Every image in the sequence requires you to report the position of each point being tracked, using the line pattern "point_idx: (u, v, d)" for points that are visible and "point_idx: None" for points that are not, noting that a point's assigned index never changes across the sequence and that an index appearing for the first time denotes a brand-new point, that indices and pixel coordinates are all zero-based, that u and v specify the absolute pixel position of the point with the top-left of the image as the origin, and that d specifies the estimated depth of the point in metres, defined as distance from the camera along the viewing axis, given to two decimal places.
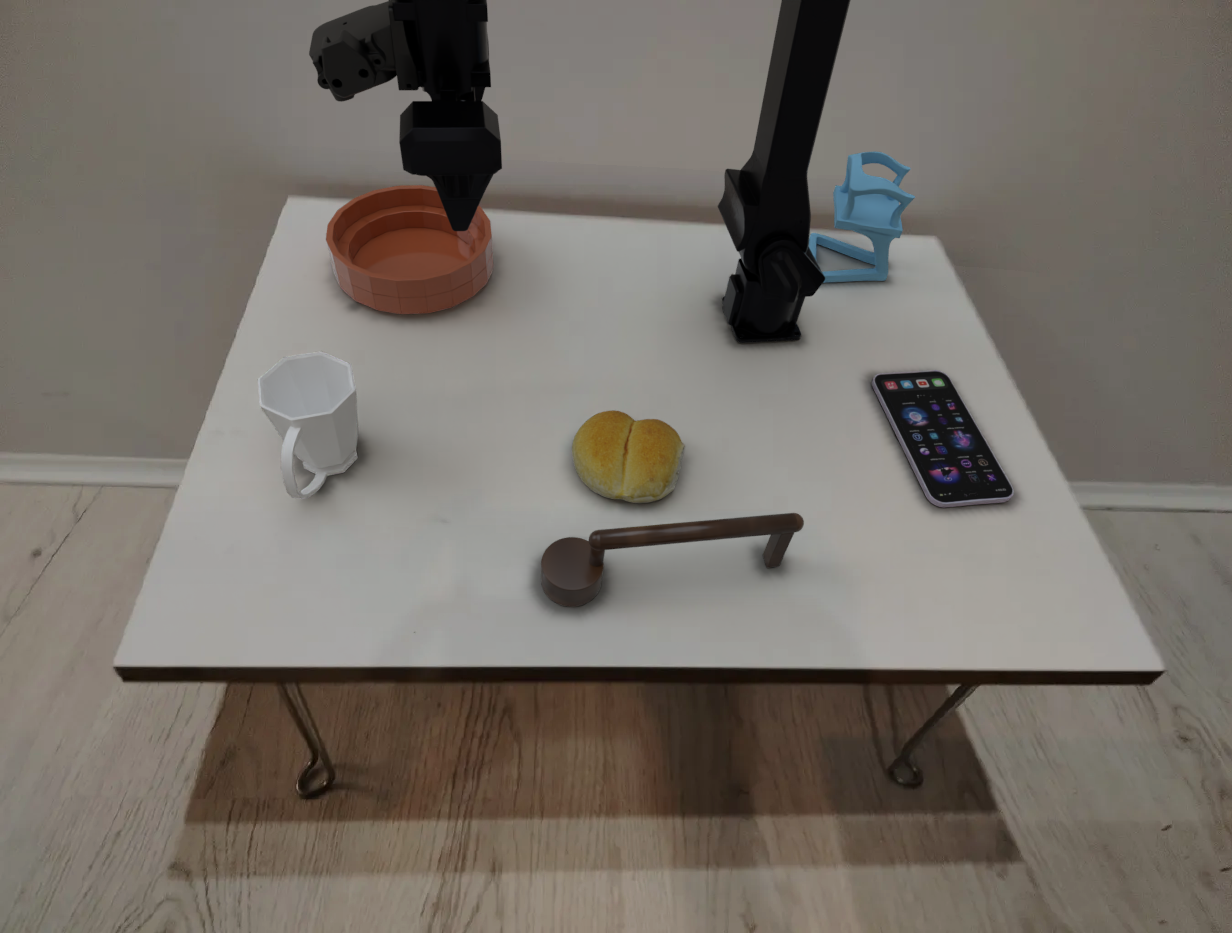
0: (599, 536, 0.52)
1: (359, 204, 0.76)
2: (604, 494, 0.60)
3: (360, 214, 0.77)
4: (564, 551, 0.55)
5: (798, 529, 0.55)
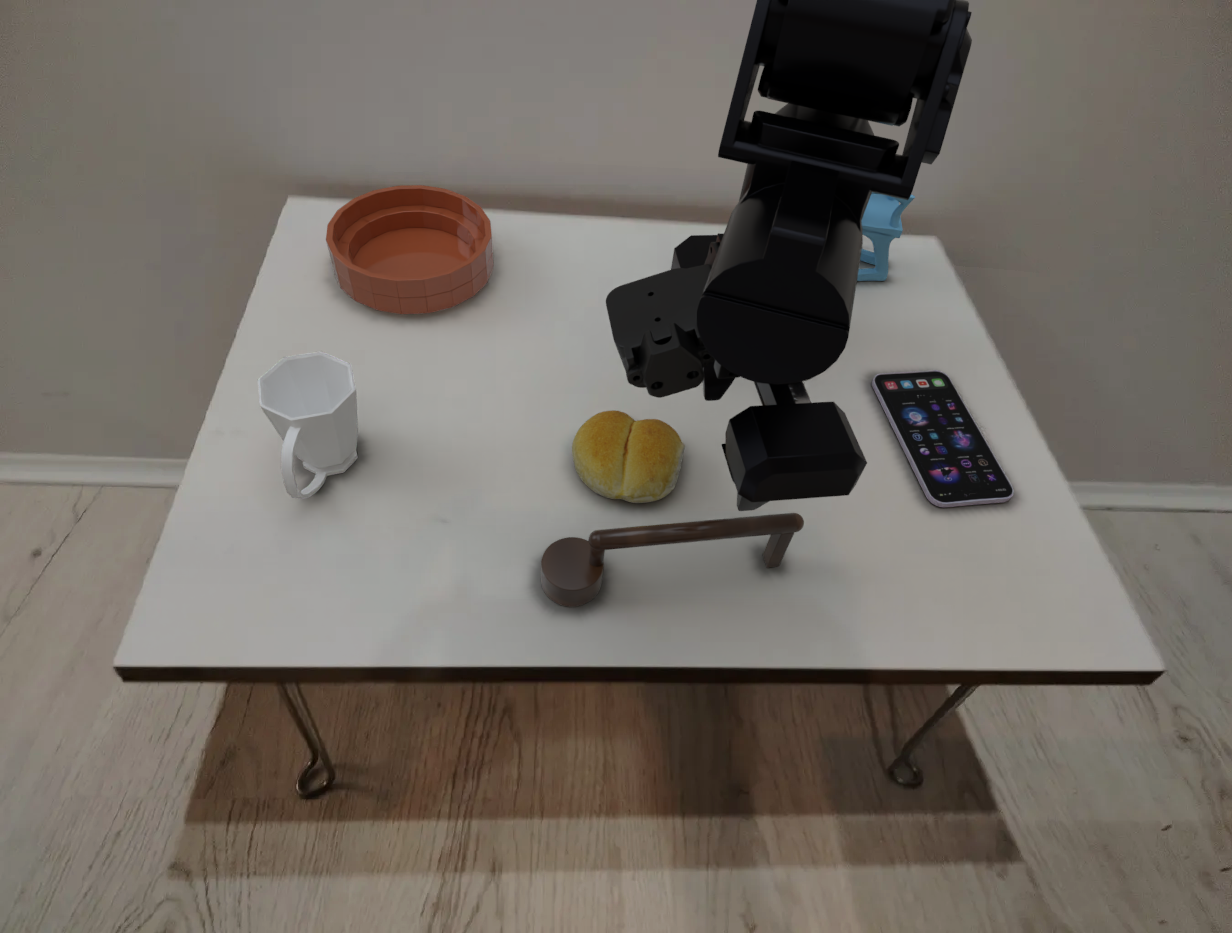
0: (599, 536, 0.52)
1: (359, 204, 0.76)
2: (604, 494, 0.60)
3: (360, 214, 0.77)
4: (564, 551, 0.55)
5: (798, 529, 0.55)
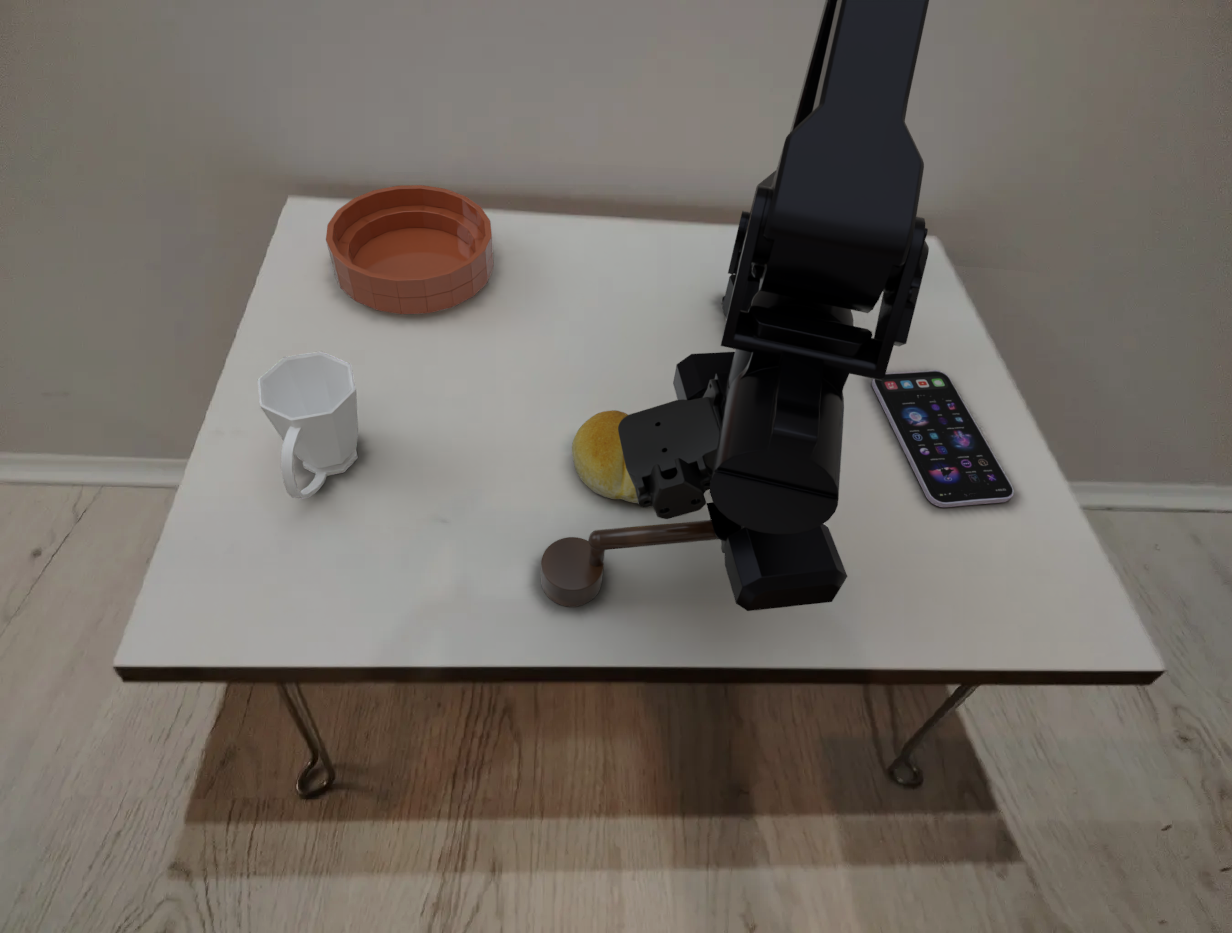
0: (599, 536, 0.52)
1: (359, 204, 0.76)
2: (604, 494, 0.60)
3: (360, 214, 0.77)
4: (564, 551, 0.55)
5: None
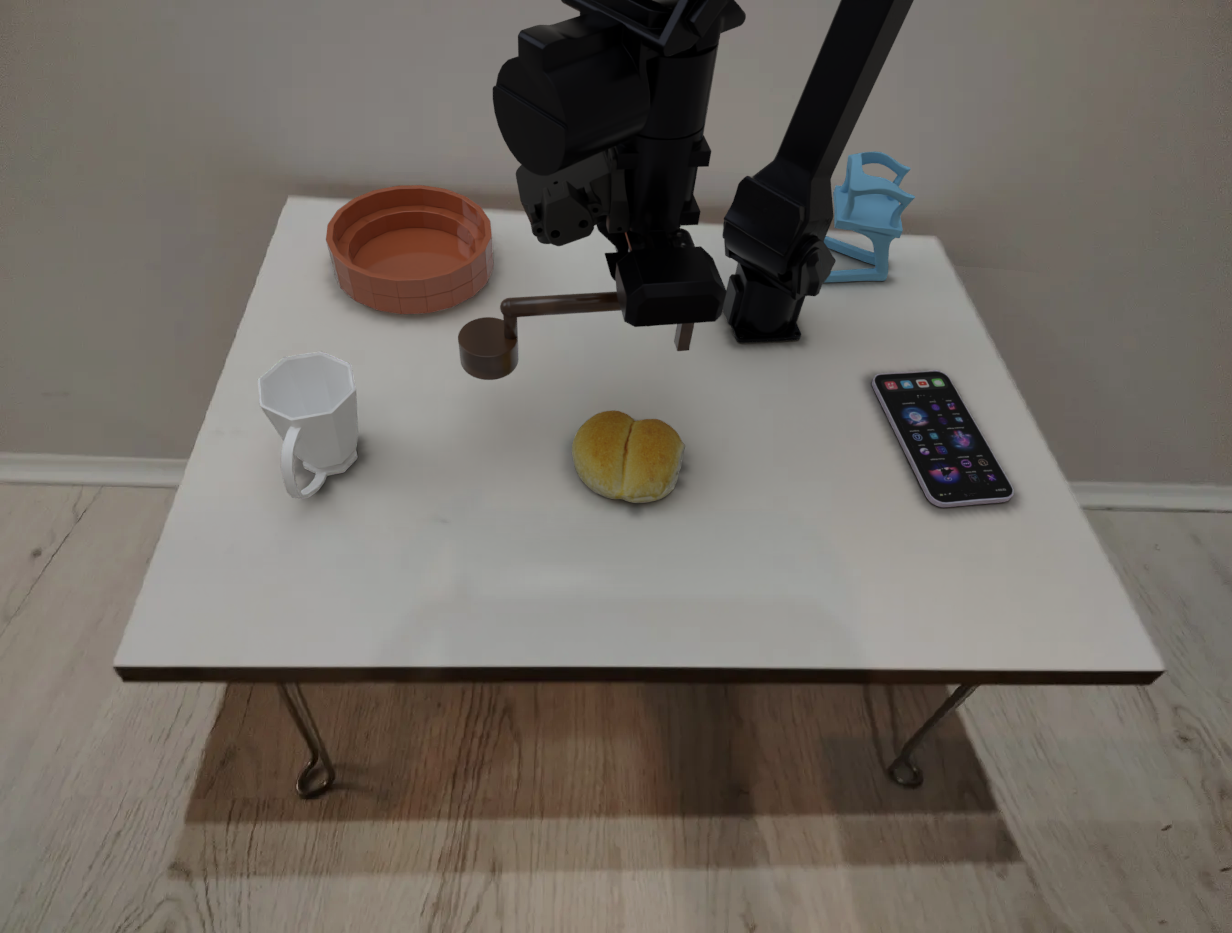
0: (509, 301, 0.55)
1: (359, 204, 0.76)
2: (604, 494, 0.60)
3: (360, 214, 0.77)
4: (480, 327, 0.58)
5: None
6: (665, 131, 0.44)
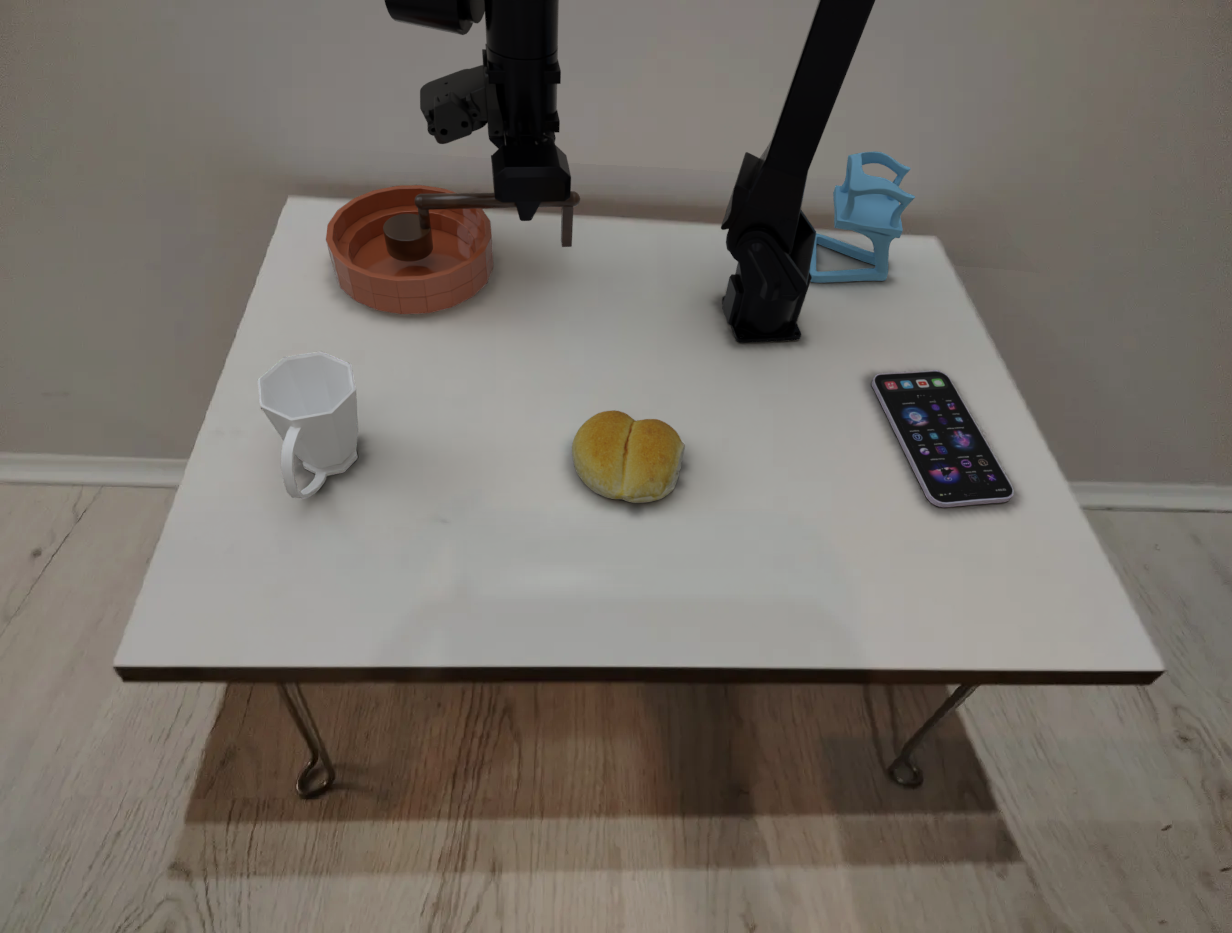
0: (421, 196, 0.71)
1: (359, 204, 0.76)
2: (604, 494, 0.60)
3: (360, 214, 0.77)
4: (401, 220, 0.74)
5: (575, 202, 0.73)
6: (491, 44, 0.61)
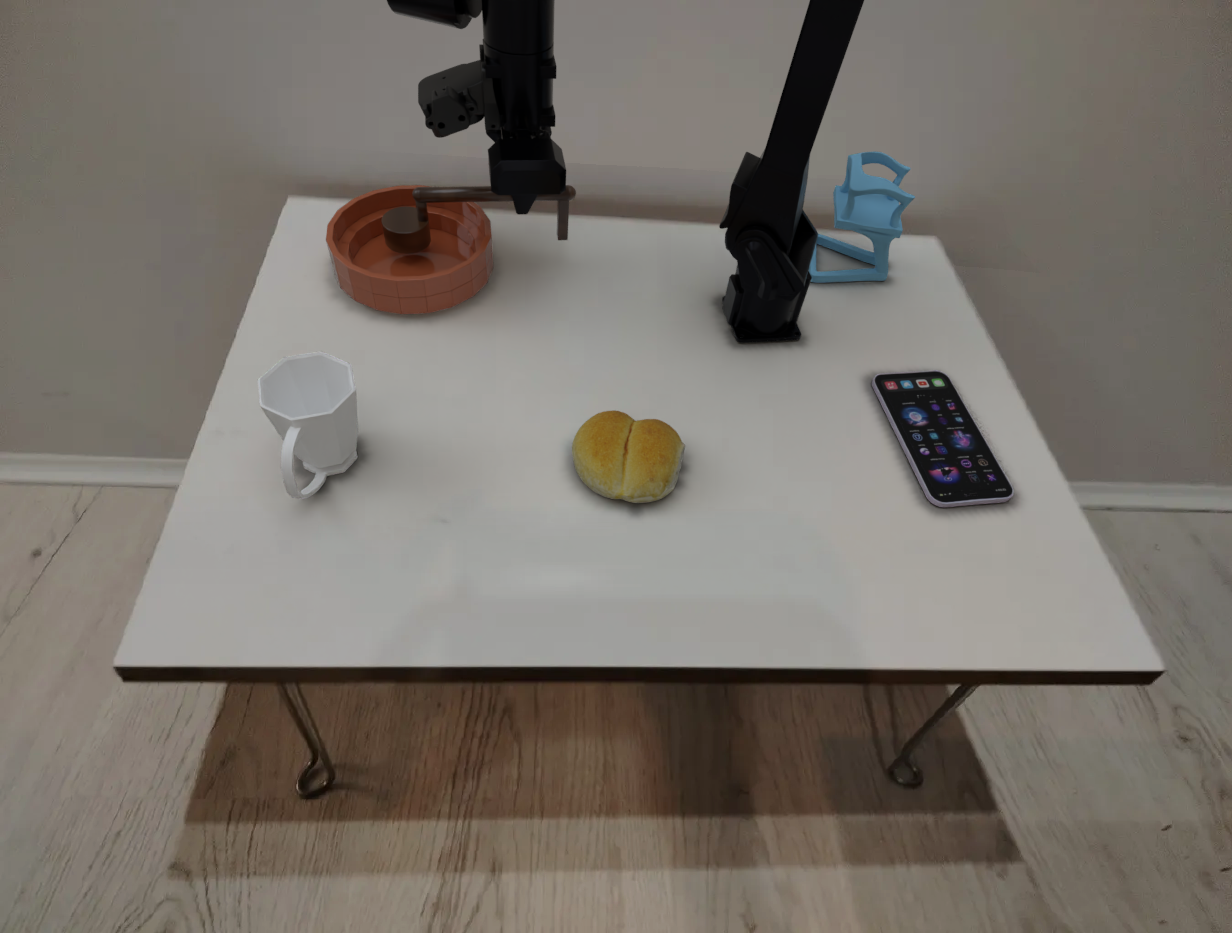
0: (419, 189, 0.72)
1: (359, 204, 0.76)
2: (604, 494, 0.60)
3: (360, 214, 0.77)
4: (400, 213, 0.75)
5: (570, 196, 0.75)
6: (487, 38, 0.62)
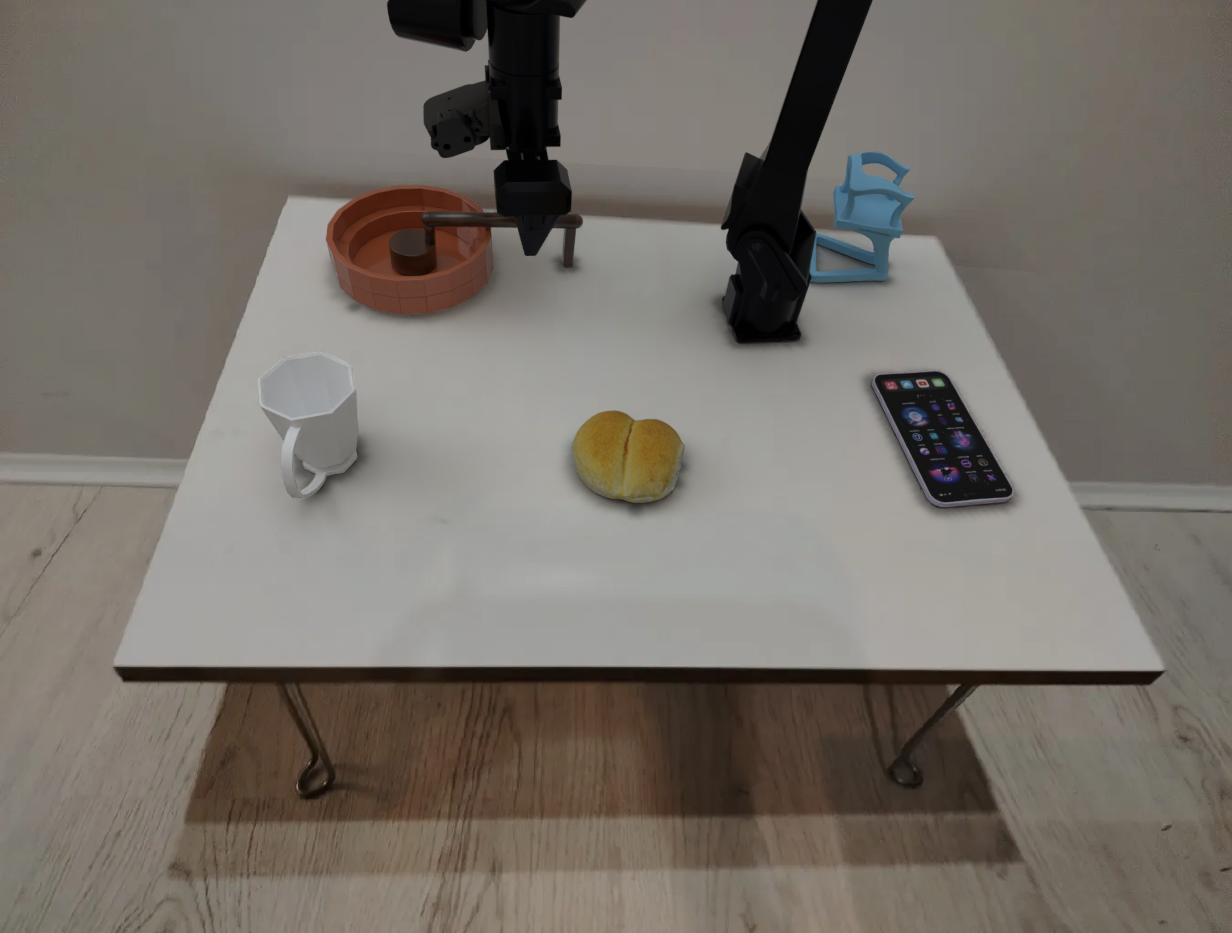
0: (428, 213, 0.73)
1: (359, 204, 0.76)
2: (604, 494, 0.60)
3: (360, 214, 0.77)
4: (407, 235, 0.75)
5: (578, 224, 0.75)
6: (493, 61, 0.62)
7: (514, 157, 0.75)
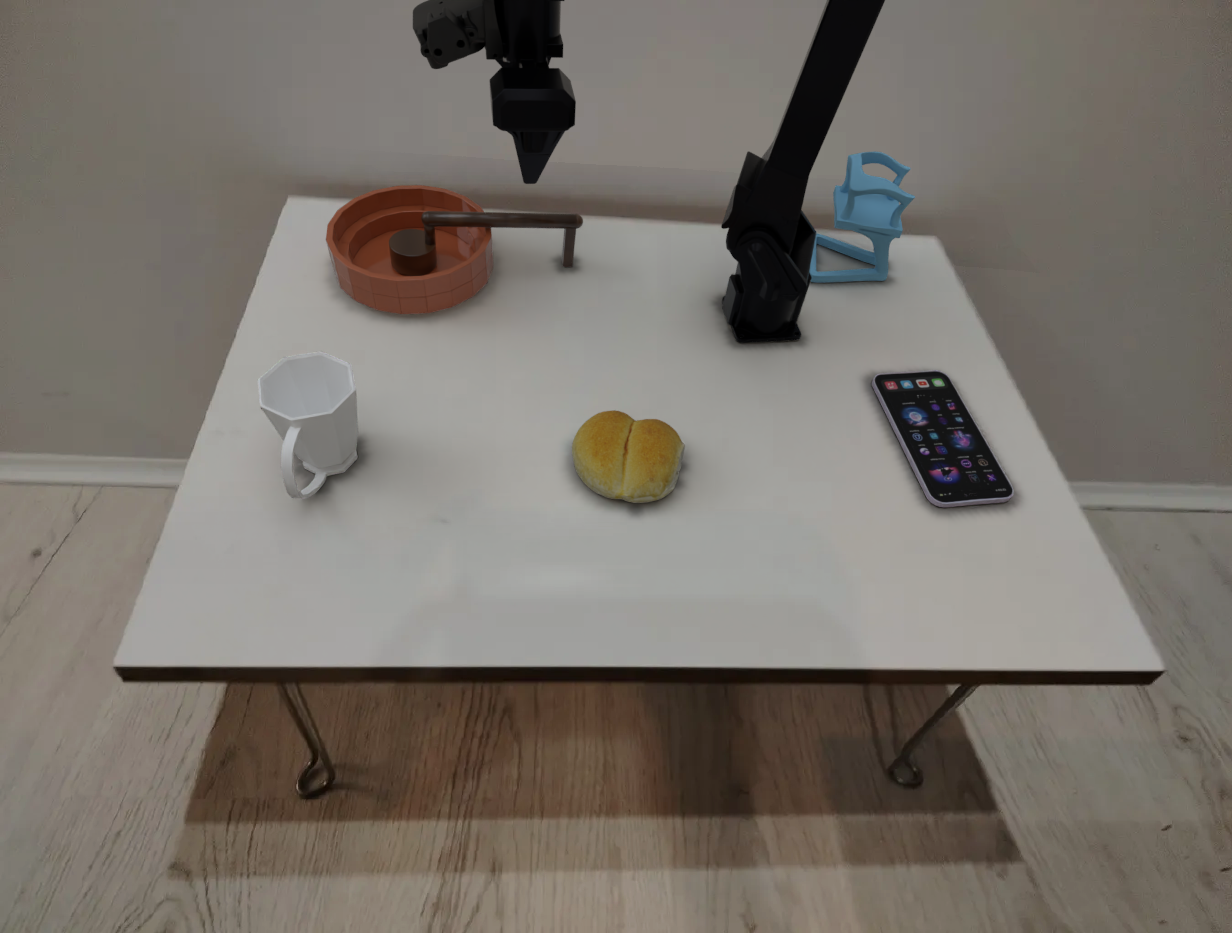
0: (428, 213, 0.73)
1: (359, 204, 0.76)
2: (604, 494, 0.60)
3: (360, 214, 0.77)
4: (407, 235, 0.75)
5: (578, 224, 0.75)
6: None
7: None
